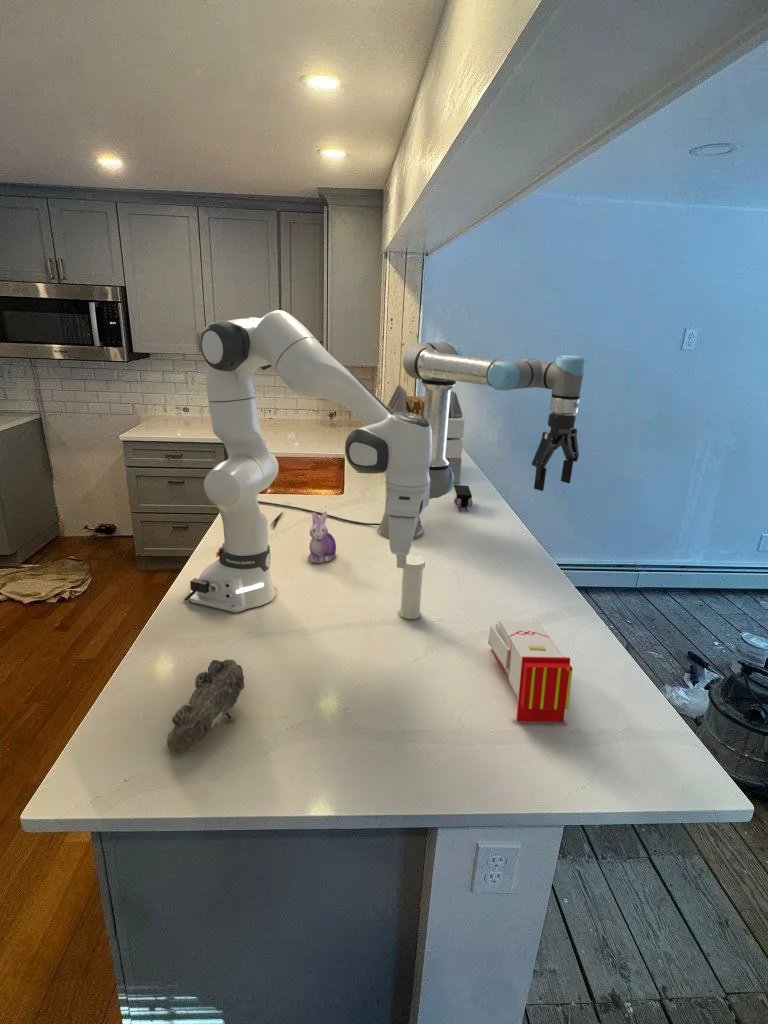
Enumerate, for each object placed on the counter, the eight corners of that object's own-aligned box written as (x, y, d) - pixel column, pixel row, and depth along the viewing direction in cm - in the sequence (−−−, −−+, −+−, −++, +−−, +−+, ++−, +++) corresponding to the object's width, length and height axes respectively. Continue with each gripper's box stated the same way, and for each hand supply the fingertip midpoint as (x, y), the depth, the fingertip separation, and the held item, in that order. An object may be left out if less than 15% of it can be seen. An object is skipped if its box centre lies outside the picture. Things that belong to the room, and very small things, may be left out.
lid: (415, 573, 139) (415, 567, 138) (396, 565, 143) (396, 559, 142) (429, 565, 143) (429, 559, 143) (410, 558, 147) (411, 553, 146)
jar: (411, 621, 144) (415, 567, 139) (396, 614, 147) (399, 561, 142) (423, 614, 148) (427, 561, 143) (408, 607, 151) (411, 555, 146)
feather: (289, 506, 225) (292, 502, 225) (272, 529, 199) (275, 525, 198) (286, 503, 225) (288, 500, 225) (268, 527, 199) (271, 522, 198)
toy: (535, 605, 135) (581, 664, 106) (530, 657, 138) (574, 728, 108) (484, 604, 135) (517, 662, 105) (480, 656, 137) (511, 727, 108)
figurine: (314, 566, 172) (314, 520, 167) (302, 553, 180) (302, 509, 175) (342, 561, 176) (343, 516, 171) (330, 549, 184) (330, 505, 179)
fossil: (192, 660, 117) (244, 628, 112) (224, 691, 120) (276, 661, 115) (142, 746, 98) (202, 712, 93) (182, 779, 101) (242, 748, 96)
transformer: (382, 463, 289) (386, 382, 275) (445, 464, 293) (451, 384, 279) (390, 482, 257) (394, 392, 243) (460, 483, 261) (468, 394, 247)
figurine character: (472, 516, 224) (466, 500, 237) (474, 499, 220) (469, 483, 234) (455, 515, 224) (451, 499, 237) (457, 498, 220) (452, 483, 234)
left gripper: (398, 479, 124) (395, 537, 129) (384, 509, 105) (382, 576, 110) (427, 481, 124) (423, 540, 128) (418, 512, 105) (414, 579, 109)
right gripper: (548, 419, 148) (537, 496, 155) (598, 411, 163) (586, 482, 171) (525, 414, 153) (515, 489, 160) (575, 407, 169) (564, 476, 176)
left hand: (404, 557), depth 119 cm, fingers open, 8 cm apart
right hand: (552, 485), depth 166 cm, fingers open, 13 cm apart
